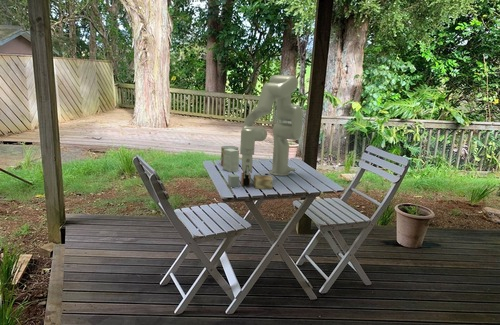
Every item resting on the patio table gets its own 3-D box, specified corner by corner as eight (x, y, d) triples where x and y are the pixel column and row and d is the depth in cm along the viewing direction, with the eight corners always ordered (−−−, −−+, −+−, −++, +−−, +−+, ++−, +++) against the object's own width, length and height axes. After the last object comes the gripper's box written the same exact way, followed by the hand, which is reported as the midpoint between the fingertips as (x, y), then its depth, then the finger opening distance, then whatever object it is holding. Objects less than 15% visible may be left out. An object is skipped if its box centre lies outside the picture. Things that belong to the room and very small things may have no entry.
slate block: (235, 185, 202) (236, 174, 200) (238, 187, 198) (239, 176, 196) (228, 185, 200) (228, 174, 199) (230, 188, 196) (231, 177, 195)
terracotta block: (249, 183, 206) (249, 172, 205) (250, 185, 202) (250, 175, 200) (241, 183, 206) (241, 172, 204) (241, 185, 201) (242, 174, 200)
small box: (238, 171, 233) (239, 150, 230) (230, 172, 229) (231, 151, 226) (230, 168, 239) (231, 148, 236) (222, 169, 235) (223, 149, 232)
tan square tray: (269, 184, 207) (270, 175, 206) (272, 188, 198) (272, 179, 197) (253, 183, 206) (253, 174, 205) (255, 188, 197) (256, 179, 196)
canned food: (219, 163, 252) (220, 145, 249) (236, 163, 254) (236, 145, 252) (222, 167, 241) (222, 148, 238) (239, 167, 243) (240, 149, 241)
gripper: (256, 154, 192) (254, 188, 196) (252, 148, 208) (250, 180, 212) (241, 154, 191) (240, 188, 195) (238, 148, 207) (237, 179, 211)
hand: (245, 183), depth 204 cm, fingers closed on terracotta block, 4 cm apart
